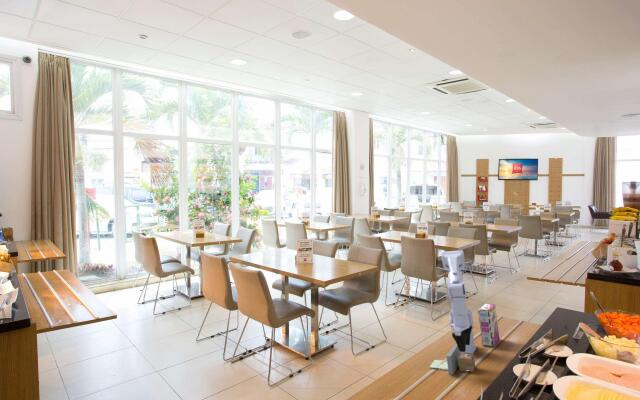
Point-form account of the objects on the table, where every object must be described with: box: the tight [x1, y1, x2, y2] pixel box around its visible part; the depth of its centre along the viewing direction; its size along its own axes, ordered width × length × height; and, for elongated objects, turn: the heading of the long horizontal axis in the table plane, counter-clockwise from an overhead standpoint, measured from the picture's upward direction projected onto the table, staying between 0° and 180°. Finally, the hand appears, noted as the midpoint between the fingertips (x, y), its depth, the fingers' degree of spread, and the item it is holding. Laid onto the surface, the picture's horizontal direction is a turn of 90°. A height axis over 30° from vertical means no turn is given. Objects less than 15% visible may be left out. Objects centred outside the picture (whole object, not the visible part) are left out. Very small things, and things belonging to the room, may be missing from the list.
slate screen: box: [446, 343, 461, 376], centre depth 151 cm, size 14×2×7 cm, turn 147°
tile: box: [429, 359, 448, 371], centre depth 154 cm, size 8×8×1 cm
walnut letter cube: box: [458, 353, 476, 373], centre depth 148 cm, size 5×5×5 cm
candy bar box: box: [477, 303, 500, 347], centre depth 172 cm, size 11×5×16 cm, turn 141°
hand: (464, 348), depth 149 cm, fingers open, 7 cm apart
